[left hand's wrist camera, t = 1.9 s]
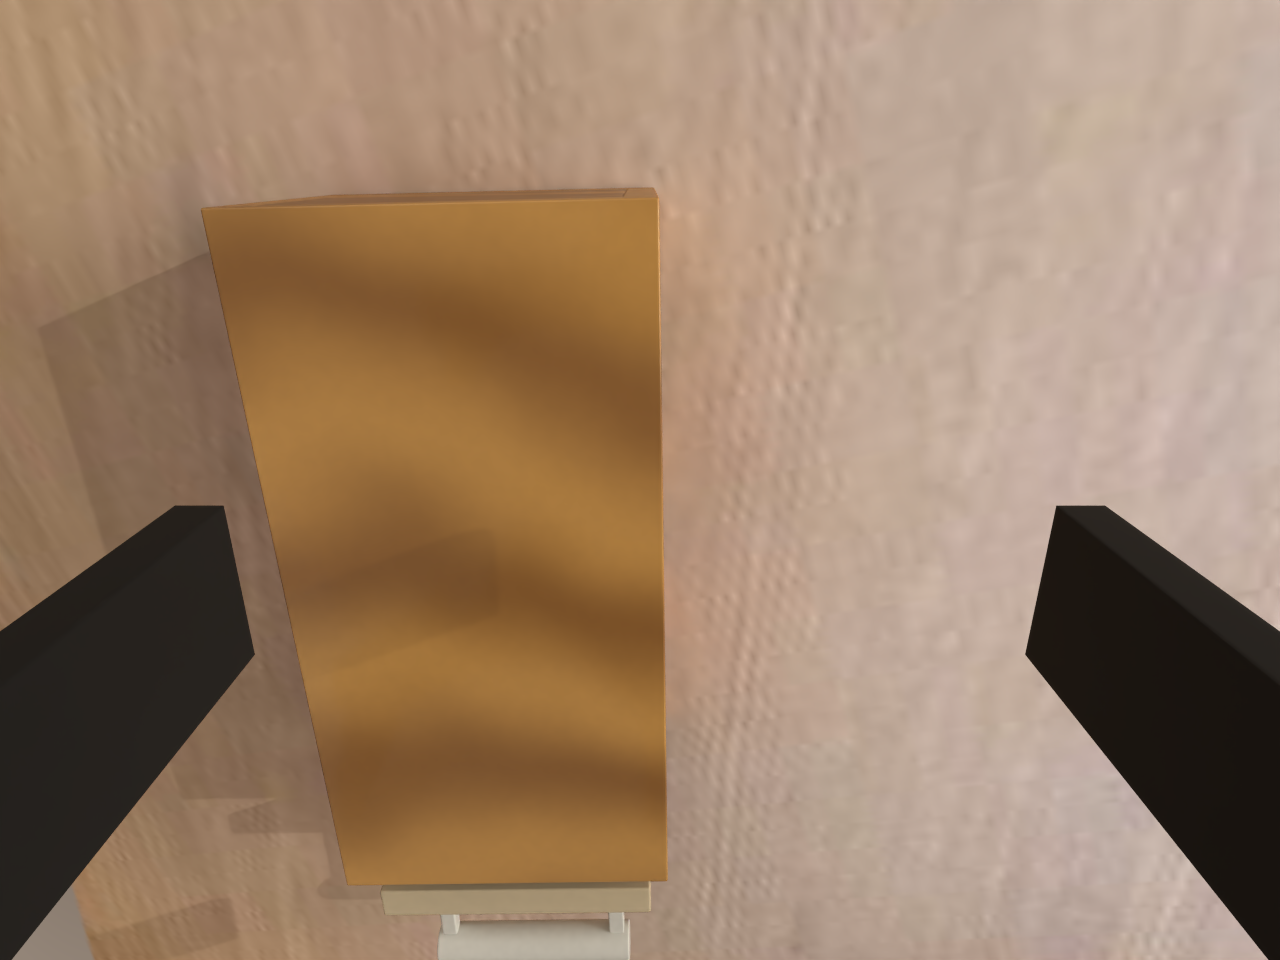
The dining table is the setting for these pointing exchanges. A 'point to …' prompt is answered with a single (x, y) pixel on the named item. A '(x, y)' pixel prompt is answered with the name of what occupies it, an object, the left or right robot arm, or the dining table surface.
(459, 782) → the cabinet
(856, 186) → the dining table surface
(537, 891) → the drawer
